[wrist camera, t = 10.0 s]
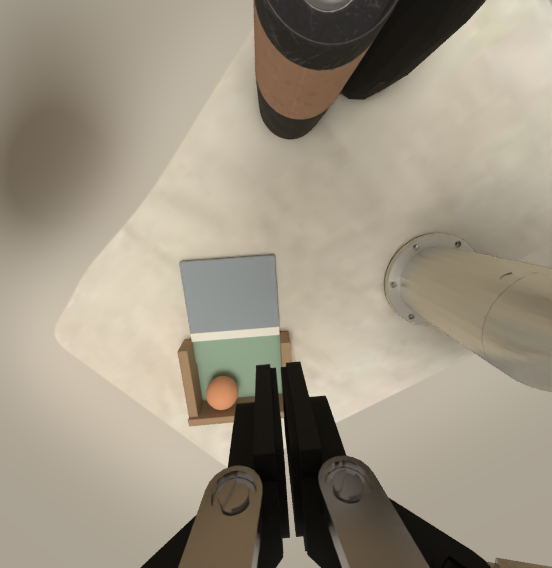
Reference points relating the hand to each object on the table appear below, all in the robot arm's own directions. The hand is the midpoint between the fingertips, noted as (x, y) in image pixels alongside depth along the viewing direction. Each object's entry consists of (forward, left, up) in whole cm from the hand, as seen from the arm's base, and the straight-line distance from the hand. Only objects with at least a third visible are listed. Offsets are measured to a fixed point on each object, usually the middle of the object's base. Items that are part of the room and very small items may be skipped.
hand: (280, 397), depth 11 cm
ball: (+8, +17, -25) cm, 31 cm away
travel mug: (-4, -18, -27) cm, 33 cm away
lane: (+5, +10, -27) cm, 29 cm away
